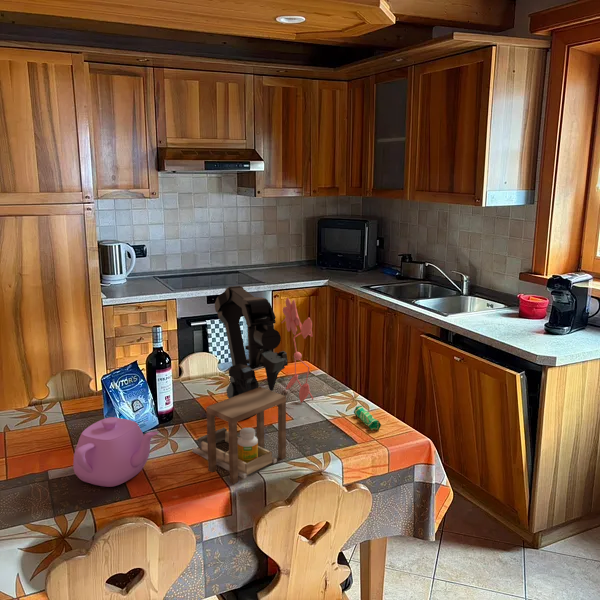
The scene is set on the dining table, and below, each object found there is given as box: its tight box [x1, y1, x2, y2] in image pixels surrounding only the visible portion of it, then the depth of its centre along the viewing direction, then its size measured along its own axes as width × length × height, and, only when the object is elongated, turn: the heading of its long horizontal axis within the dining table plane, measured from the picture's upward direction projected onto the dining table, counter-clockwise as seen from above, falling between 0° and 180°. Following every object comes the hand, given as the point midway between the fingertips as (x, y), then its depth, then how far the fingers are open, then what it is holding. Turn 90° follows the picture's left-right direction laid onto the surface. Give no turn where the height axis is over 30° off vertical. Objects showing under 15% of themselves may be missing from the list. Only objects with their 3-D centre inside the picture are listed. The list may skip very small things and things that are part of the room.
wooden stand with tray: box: [191, 386, 287, 485], centre depth 164 cm, size 22×19×18 cm
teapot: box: [72, 416, 159, 488], centre depth 153 cm, size 23×21×15 cm
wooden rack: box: [198, 427, 273, 476], centre depth 165 cm, size 20×9×4 cm, turn 47°
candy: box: [353, 405, 382, 431], centre depth 187 cm, size 12×3×4 cm
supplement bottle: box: [238, 427, 258, 463], centre depth 161 cm, size 5×5×10 cm
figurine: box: [281, 297, 314, 410], centre depth 203 cm, size 15×26×35 cm, turn 22°
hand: (260, 394), depth 176 cm, fingers open, 9 cm apart
